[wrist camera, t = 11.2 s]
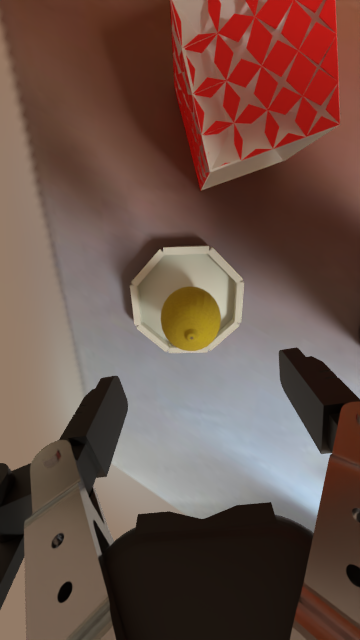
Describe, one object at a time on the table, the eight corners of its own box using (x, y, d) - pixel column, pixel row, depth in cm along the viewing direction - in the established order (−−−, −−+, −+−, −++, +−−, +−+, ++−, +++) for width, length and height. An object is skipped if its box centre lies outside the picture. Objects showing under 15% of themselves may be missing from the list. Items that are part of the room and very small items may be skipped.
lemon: (154, 308, 25) (142, 344, 18) (184, 267, 23) (184, 289, 16) (194, 334, 26) (198, 378, 19) (225, 297, 24) (243, 330, 17)
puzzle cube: (270, 46, 18) (332, -81, 10) (284, 160, 21) (341, 124, 13) (173, 88, 19) (168, -2, 11) (199, 191, 22) (208, 172, 14)
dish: (185, 220, 22) (185, 219, 21) (260, 297, 25) (265, 302, 24) (114, 301, 26) (109, 306, 24) (188, 361, 29) (188, 370, 27)
